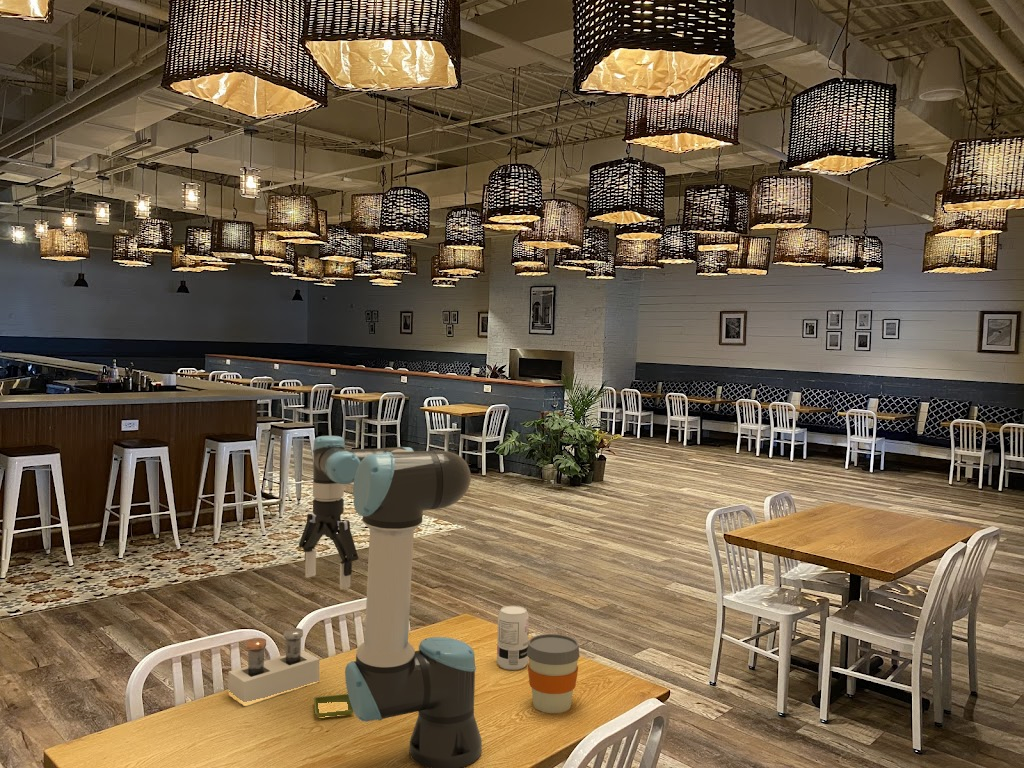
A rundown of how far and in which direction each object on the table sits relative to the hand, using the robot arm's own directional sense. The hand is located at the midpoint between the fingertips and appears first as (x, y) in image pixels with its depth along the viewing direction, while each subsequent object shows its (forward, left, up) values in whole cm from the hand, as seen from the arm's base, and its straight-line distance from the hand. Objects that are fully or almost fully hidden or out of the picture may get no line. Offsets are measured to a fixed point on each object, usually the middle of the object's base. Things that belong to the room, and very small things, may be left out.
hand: (327, 582), depth 200 cm
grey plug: (-4, +7, -20) cm, 22 cm away
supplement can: (+24, -42, -26) cm, 55 cm away
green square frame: (-14, -9, -26) cm, 31 cm away
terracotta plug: (-12, +12, -20) cm, 27 cm away
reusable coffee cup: (+4, -57, -26) cm, 63 cm away
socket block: (-8, +10, -25) cm, 28 cm away
